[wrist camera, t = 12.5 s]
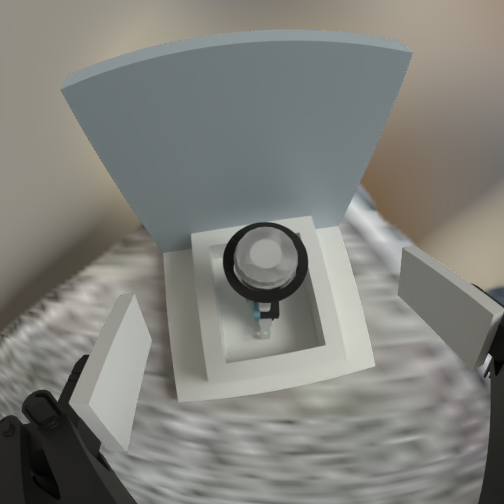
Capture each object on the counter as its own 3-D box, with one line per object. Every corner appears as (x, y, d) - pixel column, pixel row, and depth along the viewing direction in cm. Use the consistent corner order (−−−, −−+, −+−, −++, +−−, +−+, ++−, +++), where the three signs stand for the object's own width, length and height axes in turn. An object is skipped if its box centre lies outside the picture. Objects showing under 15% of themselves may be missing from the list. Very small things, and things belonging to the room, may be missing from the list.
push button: (294, 338, 25) (316, 318, 16) (233, 340, 25) (219, 321, 16) (290, 268, 27) (306, 213, 18) (233, 269, 27) (221, 215, 18)
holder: (182, 400, 24) (5, 444, 4) (166, 245, 30) (69, 74, 10) (369, 366, 25) (562, 323, 5) (331, 220, 31) (399, 40, 11)
